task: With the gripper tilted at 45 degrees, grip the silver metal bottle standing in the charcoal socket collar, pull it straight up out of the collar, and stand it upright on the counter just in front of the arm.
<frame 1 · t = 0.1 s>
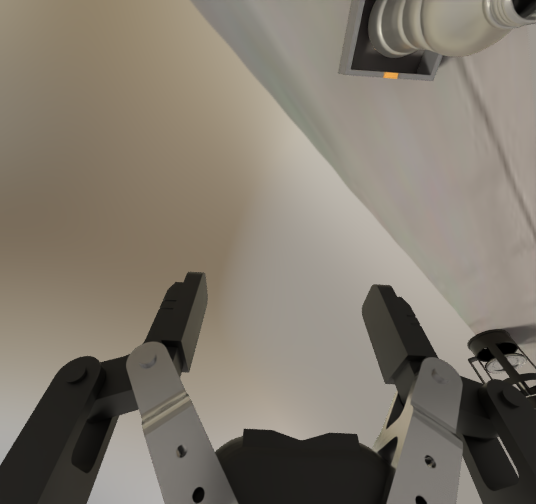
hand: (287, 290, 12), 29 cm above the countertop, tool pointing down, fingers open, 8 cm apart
socket collar: (393, 21, 28), on the countertop
silver metal bottle: (392, 21, 28), resting in socket collar
french press: (484, 340, 65), on the countertop
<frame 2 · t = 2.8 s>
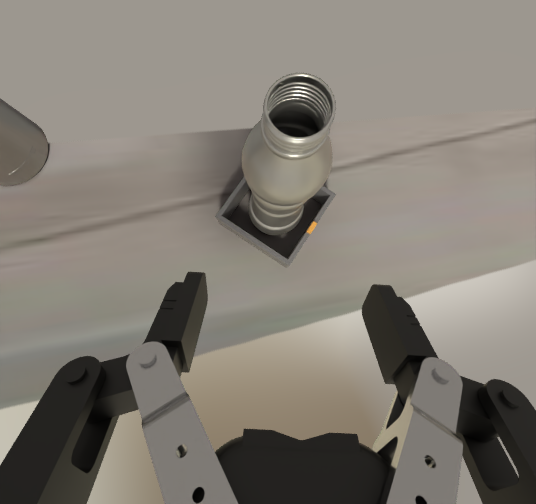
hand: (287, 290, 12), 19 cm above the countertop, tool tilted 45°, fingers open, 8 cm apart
socket collar: (274, 213, 32), on the countertop
silver metal bottle: (274, 213, 33), resting in socket collar
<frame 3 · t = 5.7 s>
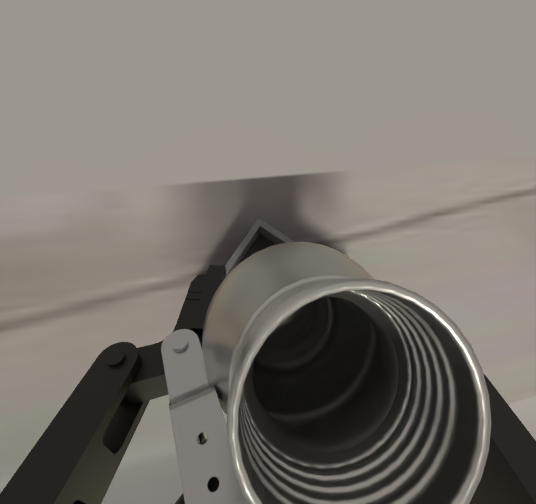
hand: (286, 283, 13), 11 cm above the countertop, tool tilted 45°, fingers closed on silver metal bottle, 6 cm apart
socket collar: (273, 300, 23), on the countertop
silver metal bottle: (272, 300, 23), resting in socket collar, touching gripper
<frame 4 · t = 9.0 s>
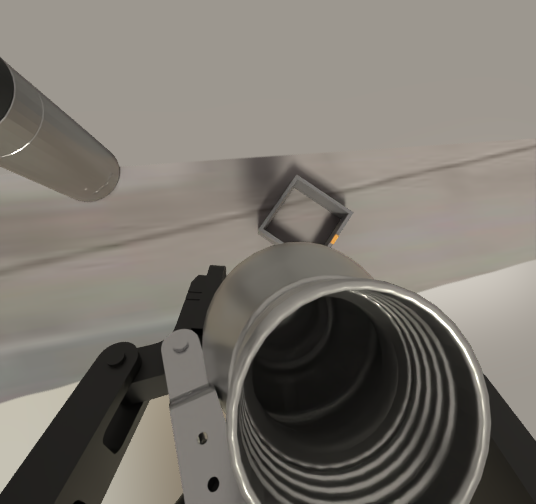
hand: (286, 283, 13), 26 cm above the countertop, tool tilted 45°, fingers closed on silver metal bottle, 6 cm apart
socket collar: (302, 225, 40), on the countertop
silver metal bottle: (273, 300, 23), point 15 cm above the countertop, touching gripper
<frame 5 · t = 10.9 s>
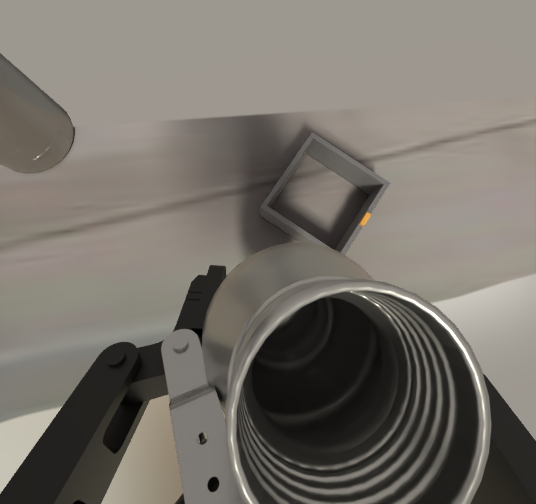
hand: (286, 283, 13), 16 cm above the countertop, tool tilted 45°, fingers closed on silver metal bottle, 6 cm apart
socket collar: (318, 204, 30), on the countertop
silver metal bottle: (273, 300, 23), point 5 cm above the countertop, touching gripper
when the fingers open (12 cm above the countertop, at t = 12.3 s): silver metal bottle drops 1 cm, on the countertop.
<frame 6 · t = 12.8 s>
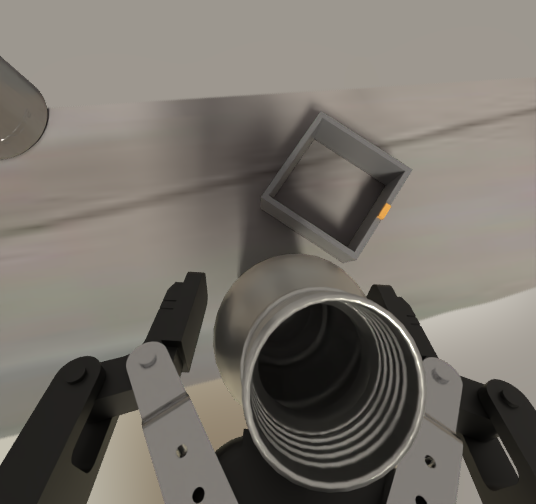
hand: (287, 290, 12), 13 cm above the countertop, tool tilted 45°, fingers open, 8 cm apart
socket collar: (327, 196, 26), on the countertop
silver metal bottle: (272, 301, 25), on the countertop
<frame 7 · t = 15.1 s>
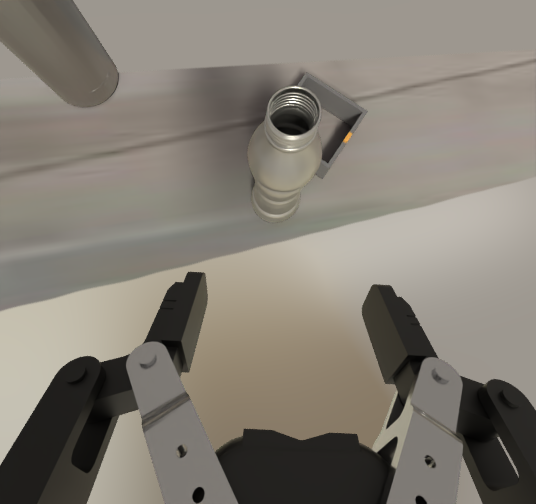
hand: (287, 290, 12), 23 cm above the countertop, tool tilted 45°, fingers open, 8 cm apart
socket collar: (312, 134, 38), on the countertop
silver metal bottle: (274, 204, 36), on the countertop
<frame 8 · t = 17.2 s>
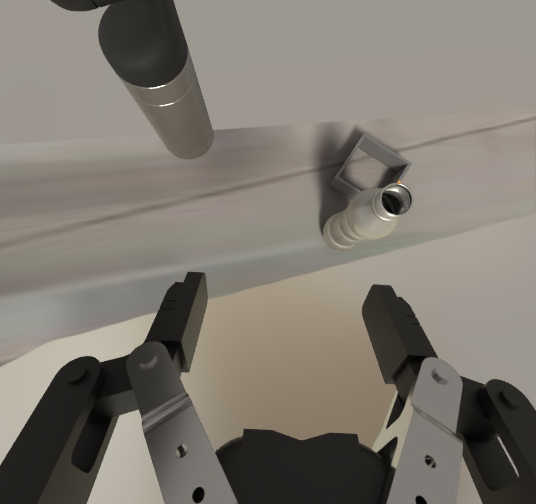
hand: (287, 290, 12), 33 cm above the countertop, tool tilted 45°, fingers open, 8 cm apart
socket collar: (365, 178, 48), on the countertop
silver metal bottle: (337, 234, 46), on the countertop
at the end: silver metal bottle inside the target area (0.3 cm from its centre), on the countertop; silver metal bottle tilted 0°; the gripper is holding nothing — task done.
